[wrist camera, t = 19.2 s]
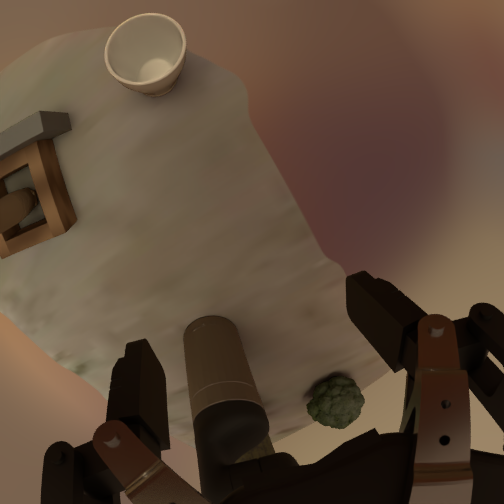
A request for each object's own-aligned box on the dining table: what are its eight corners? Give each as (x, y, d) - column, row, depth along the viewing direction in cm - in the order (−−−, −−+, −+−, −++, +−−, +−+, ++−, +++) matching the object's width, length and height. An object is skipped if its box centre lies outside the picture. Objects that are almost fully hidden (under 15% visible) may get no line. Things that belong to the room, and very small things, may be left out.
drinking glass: (189, 92, 33) (197, 69, 19) (138, 110, 32) (114, 99, 19) (175, 47, 30) (176, 1, 16) (125, 64, 29) (95, 30, 16)
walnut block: (77, 220, 35) (65, 232, 31) (16, 245, 34) (1, 259, 29) (52, 138, 30) (36, 140, 26) (-9, 172, 28) (-27, 178, 24)
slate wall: (71, 129, 30) (43, 131, 22) (-17, 176, 28) (-51, 191, 20) (67, 113, 29) (39, 110, 21) (-21, 162, 27) (-56, 174, 19)
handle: (32, 225, 34) (-20, 272, 20) (9, 191, 31) (-51, 226, 17) (52, 205, 33) (0, 246, 20) (28, 169, 31) (-33, 196, 17)
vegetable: (291, 421, 61) (309, 411, 50) (312, 378, 69) (332, 358, 58) (335, 440, 59) (362, 432, 47) (353, 396, 66) (380, 379, 55)
